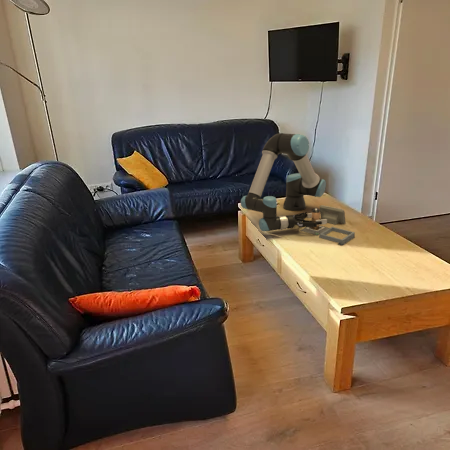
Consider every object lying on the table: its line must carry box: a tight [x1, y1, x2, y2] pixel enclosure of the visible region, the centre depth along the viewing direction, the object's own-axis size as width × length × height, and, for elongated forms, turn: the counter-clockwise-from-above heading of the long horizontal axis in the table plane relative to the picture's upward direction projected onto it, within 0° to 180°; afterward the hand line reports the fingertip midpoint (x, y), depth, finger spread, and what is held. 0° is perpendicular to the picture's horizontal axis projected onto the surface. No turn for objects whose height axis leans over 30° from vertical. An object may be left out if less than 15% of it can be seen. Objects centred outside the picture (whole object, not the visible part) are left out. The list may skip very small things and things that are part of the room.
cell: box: [311, 207, 321, 230], centre depth 229 cm, size 4×4×13 cm
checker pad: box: [299, 225, 330, 236], centre depth 231 cm, size 14×12×2 cm
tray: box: [318, 226, 356, 246], centre depth 220 cm, size 14×14×3 cm
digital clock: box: [319, 204, 347, 226], centre depth 240 cm, size 16×9×11 cm, turn 38°
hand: (322, 218), depth 229 cm, fingers open, 11 cm apart
